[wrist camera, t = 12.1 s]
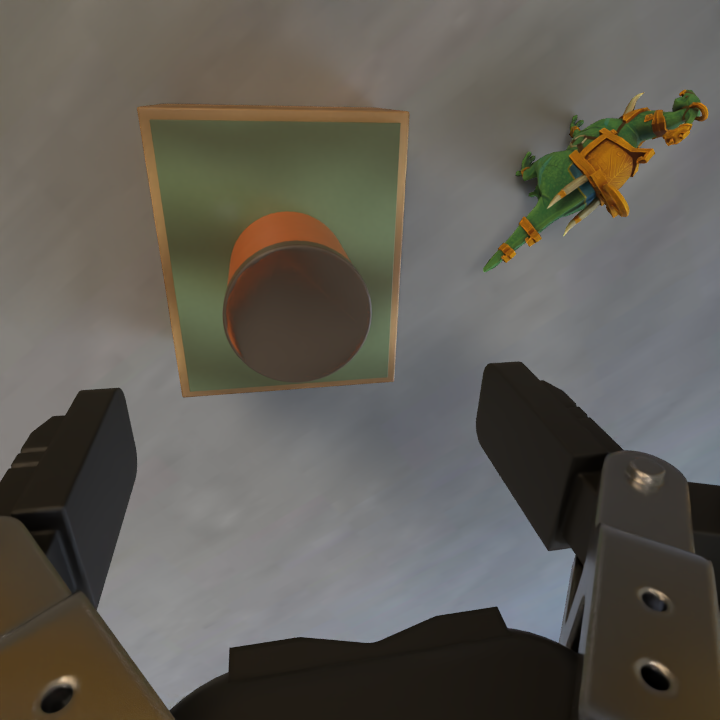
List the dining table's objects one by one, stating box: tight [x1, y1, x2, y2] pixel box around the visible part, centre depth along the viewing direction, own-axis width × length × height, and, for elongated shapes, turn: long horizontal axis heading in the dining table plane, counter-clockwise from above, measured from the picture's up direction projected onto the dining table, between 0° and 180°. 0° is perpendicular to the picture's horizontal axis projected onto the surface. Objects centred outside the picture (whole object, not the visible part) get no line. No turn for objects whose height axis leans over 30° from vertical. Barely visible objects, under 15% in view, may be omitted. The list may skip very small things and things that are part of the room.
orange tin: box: [222, 211, 372, 383], centre depth 19 cm, size 5×5×5 cm
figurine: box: [483, 90, 708, 272], centre depth 25 cm, size 3×12×8 cm, turn 130°
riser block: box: [137, 104, 409, 397], centre depth 24 cm, size 12×10×6 cm
